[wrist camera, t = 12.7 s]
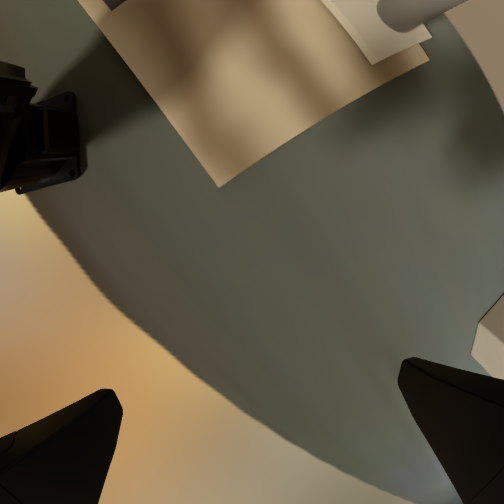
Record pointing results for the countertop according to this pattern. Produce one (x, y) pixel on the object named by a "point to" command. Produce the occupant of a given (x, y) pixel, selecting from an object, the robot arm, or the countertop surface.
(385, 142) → the countertop surface
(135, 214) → the countertop surface
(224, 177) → the board
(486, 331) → the jar
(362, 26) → the knobbed beige slab
